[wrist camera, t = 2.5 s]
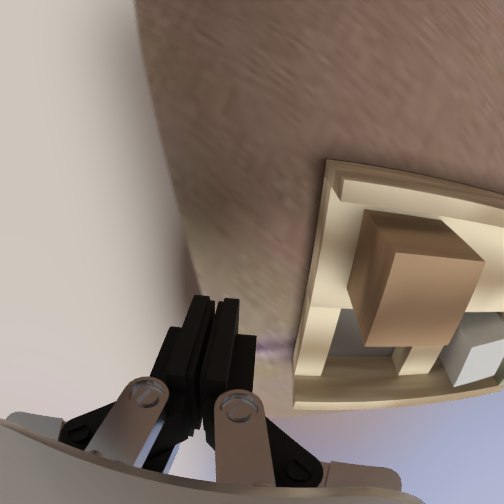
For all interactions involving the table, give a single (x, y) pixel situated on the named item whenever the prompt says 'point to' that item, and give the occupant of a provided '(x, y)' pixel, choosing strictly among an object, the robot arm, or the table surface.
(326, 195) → the tray
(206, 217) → the table surface
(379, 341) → the walnut block
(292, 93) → the table surface
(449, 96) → the table surface
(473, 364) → the trapped grey block
